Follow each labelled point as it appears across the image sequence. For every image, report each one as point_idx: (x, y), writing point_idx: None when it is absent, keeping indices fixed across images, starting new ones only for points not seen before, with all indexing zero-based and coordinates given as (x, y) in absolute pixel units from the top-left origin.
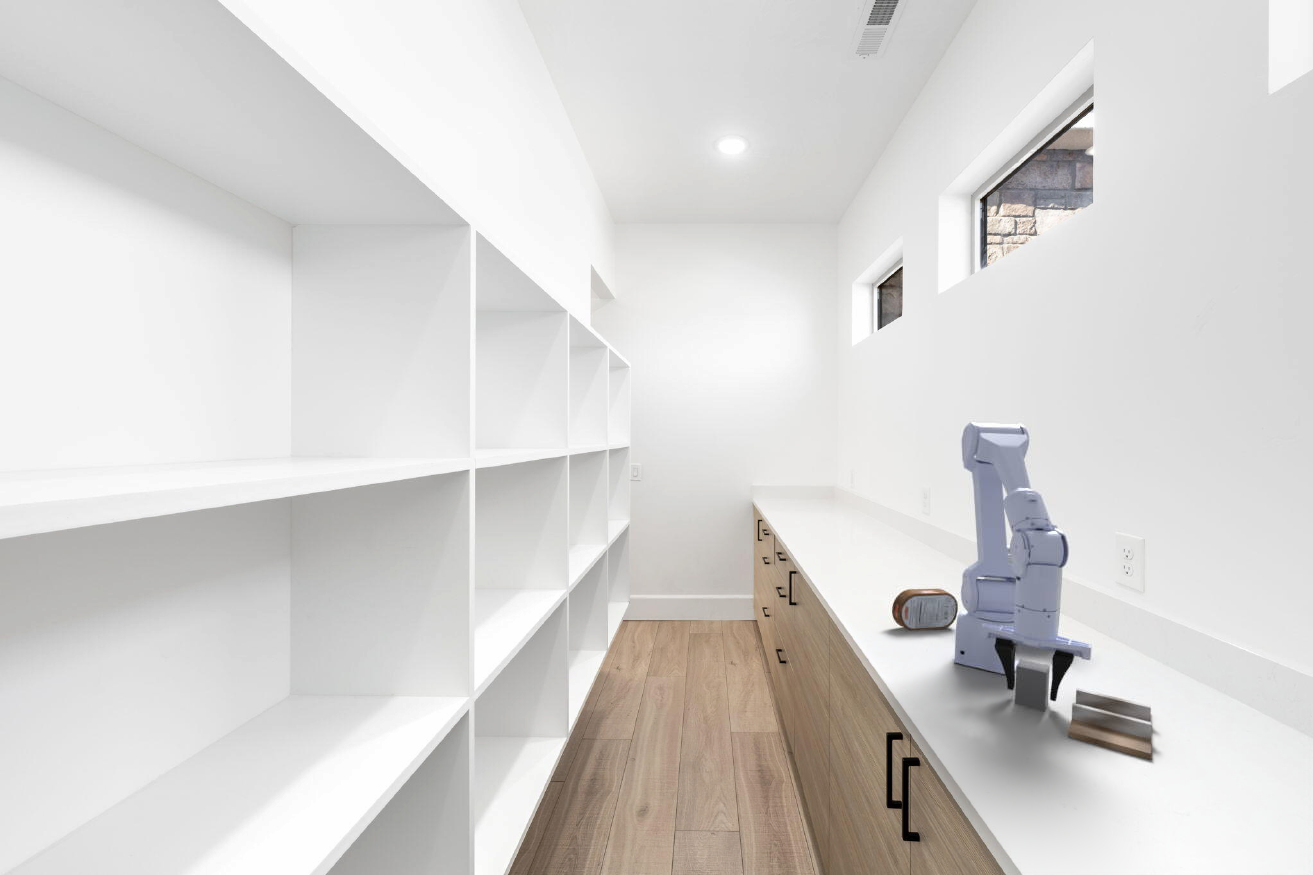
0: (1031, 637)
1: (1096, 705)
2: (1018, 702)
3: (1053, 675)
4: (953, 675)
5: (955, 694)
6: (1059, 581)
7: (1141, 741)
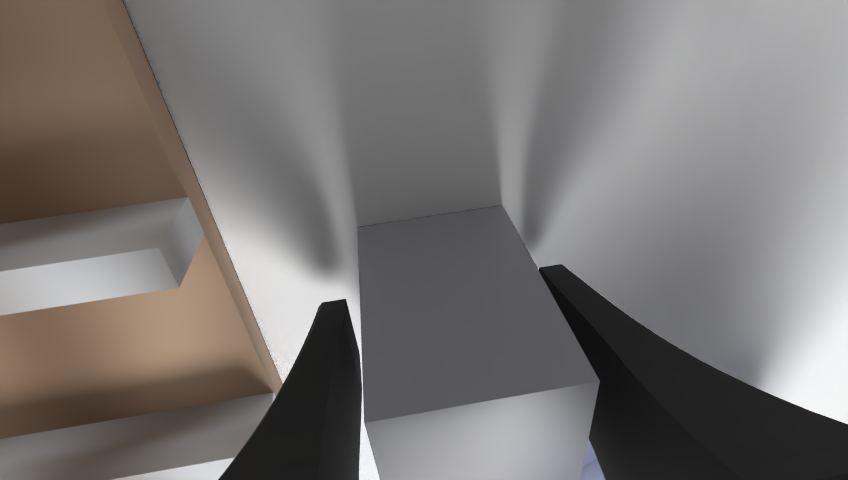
0: None
1: (186, 418)
2: (488, 214)
3: (314, 427)
4: (774, 303)
5: (808, 72)
6: None
7: None
